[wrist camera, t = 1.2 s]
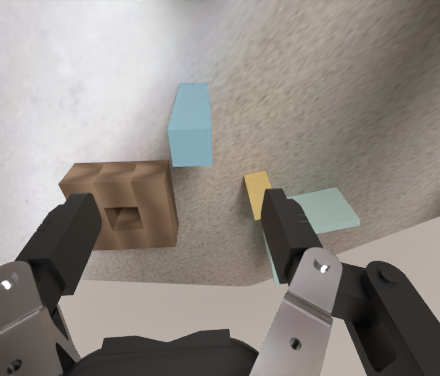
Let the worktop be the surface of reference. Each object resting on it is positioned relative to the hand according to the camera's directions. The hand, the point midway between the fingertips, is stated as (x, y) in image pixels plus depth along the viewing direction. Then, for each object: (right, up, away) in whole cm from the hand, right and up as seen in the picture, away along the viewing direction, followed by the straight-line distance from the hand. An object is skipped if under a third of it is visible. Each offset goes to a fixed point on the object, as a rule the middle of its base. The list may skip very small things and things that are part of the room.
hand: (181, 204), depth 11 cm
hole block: (-11, -1, +23) cm, 26 cm away
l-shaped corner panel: (+15, -4, +29) cm, 33 cm away
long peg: (-1, +11, +15) cm, 19 cm away
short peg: (+7, +2, +23) cm, 24 cm away
